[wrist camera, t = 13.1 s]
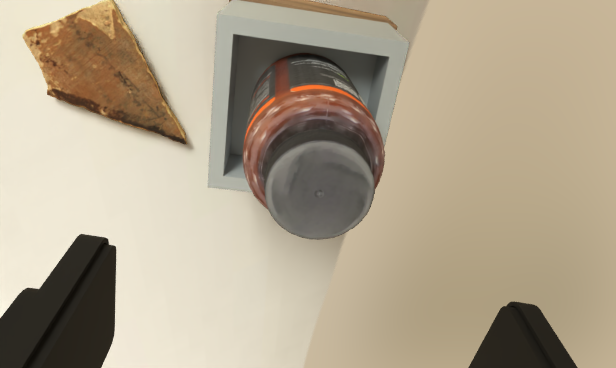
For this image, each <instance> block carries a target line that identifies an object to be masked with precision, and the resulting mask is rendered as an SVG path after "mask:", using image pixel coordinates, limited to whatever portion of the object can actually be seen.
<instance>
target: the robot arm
mask: <svg viewBox="0 0 616 368" xmlns="http://www.w3.org/2000/svg"><path fill="white" fill-rule="evenodd" d="M115 285H116V247H115V246H113V245H109V241H108V239H107V238H104V237H97V236H91V235H84V234H80V235H79V236H78V237H77V238H76V239H75V241H74V242H73V244H72V245H71V246H70V248H69V249H68V250H67V252H66V253H65V255H64V256H63V257H62V259H61V260H60V261H59V263H58V264H57V266H56V267H55V268H54V270H53V271H52V272H51V274H50V275H49V277H48V278H47V279H46V281H45V282H44V283H43V285H42V286H41V288H40V289H33V288H26V289H25V290H23V291H22V292H21V293H20V294H19V295H18V296H17V298H16V299H15V300H14V301H13V303H12V304H11V305H10V307H9V308H8V309H7V310H6V312H5V313H4V314H3V316H2V317H1V318H0V368H101V367H102V365H103V362H104V360H105V358H106V356H107V354H108V351H109V349H110V347H111V344H112V341H113V337H114V330H115ZM469 368H577V366H576V365H575V363H574V362H573V360H572V359H571V357H570V355H569V354H568V352H567V351H566V349H565V348H564V346H563V345H562V343H561V341H560V340H559V339H558V337H557V335H556V334H555V332H554V331H553V329H552V327H551V326H550V324H549V323H548V321H547V320H546V318H545V317H544V315H543V313H542V312H541V310H540V309H539V308H538V307H537V306H535V305H532V304H526V303H520V302H510V303H509V304H508V305H507V306H504V307H502V308H501V309H500V311H499V313H498V314H497V316H496V318H495V320H494V322H493V323H492V325H491V327H490V329H489V331H488V333H487V335H486V336H485V338H484V340H483V342H482V344H481V346H480V347H479V349H478V351H477V353H476V355H475V357H474V359H473V361H472V362H471V364H470V366H469Z"/></svg>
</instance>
